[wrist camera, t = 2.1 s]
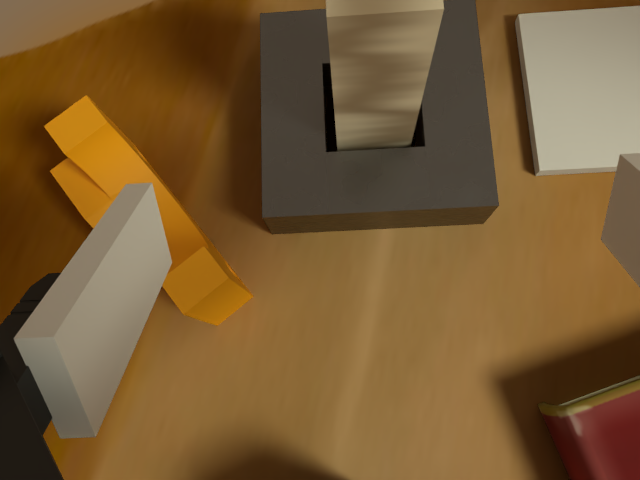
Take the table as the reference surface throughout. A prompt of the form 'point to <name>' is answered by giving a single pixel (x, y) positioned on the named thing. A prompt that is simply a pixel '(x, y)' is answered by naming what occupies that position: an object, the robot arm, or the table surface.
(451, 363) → the table surface
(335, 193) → the socket block
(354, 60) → the birch peg
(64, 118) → the pipe clamp
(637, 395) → the hardcover book
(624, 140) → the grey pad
